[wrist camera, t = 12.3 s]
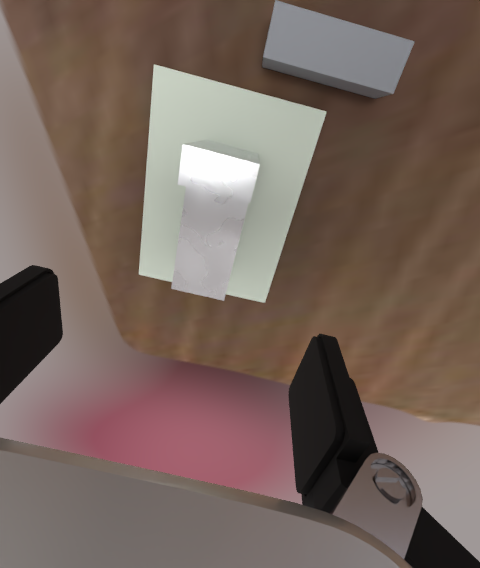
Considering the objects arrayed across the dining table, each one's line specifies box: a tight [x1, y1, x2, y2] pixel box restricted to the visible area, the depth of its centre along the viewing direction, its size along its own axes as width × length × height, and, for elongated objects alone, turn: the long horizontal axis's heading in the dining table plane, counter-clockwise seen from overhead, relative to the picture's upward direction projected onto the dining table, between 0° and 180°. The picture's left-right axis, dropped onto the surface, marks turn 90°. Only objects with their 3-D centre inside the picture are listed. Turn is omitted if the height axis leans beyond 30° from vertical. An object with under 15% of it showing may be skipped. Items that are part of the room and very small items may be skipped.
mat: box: [139, 64, 327, 303], centre depth 23 cm, size 12×16×1 cm
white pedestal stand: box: [171, 140, 260, 301], centre depth 20 cm, size 4×10×8 cm, turn 167°
